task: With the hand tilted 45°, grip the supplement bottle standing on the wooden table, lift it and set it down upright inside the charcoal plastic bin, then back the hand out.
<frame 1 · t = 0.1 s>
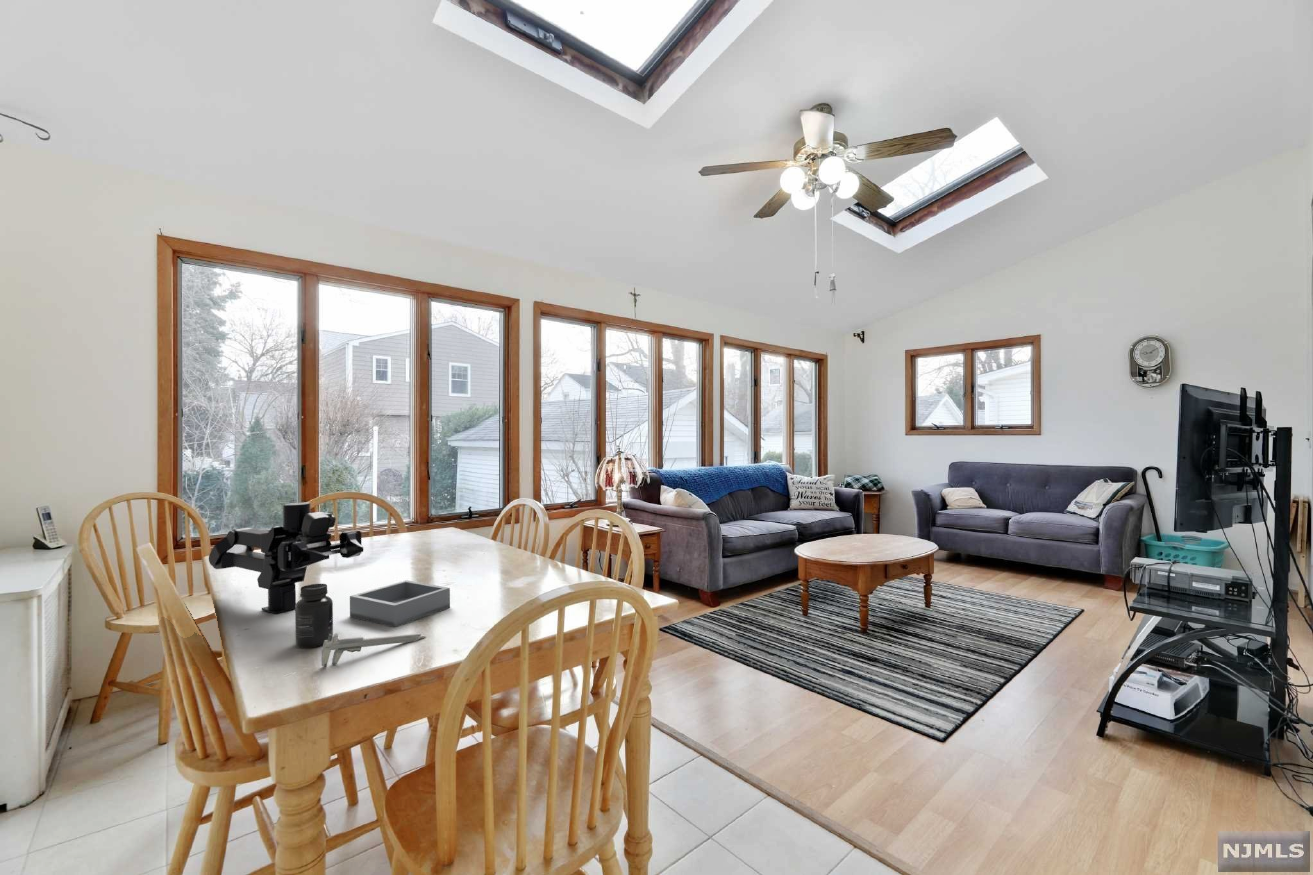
hand: (344, 553, 131), 17 cm above the table, tool horizontal, fingers open, 9 cm apart
caliper: (377, 653, 116), on the table
supplement bottle: (314, 643, 121), on the table
bin: (401, 612, 140), on the table
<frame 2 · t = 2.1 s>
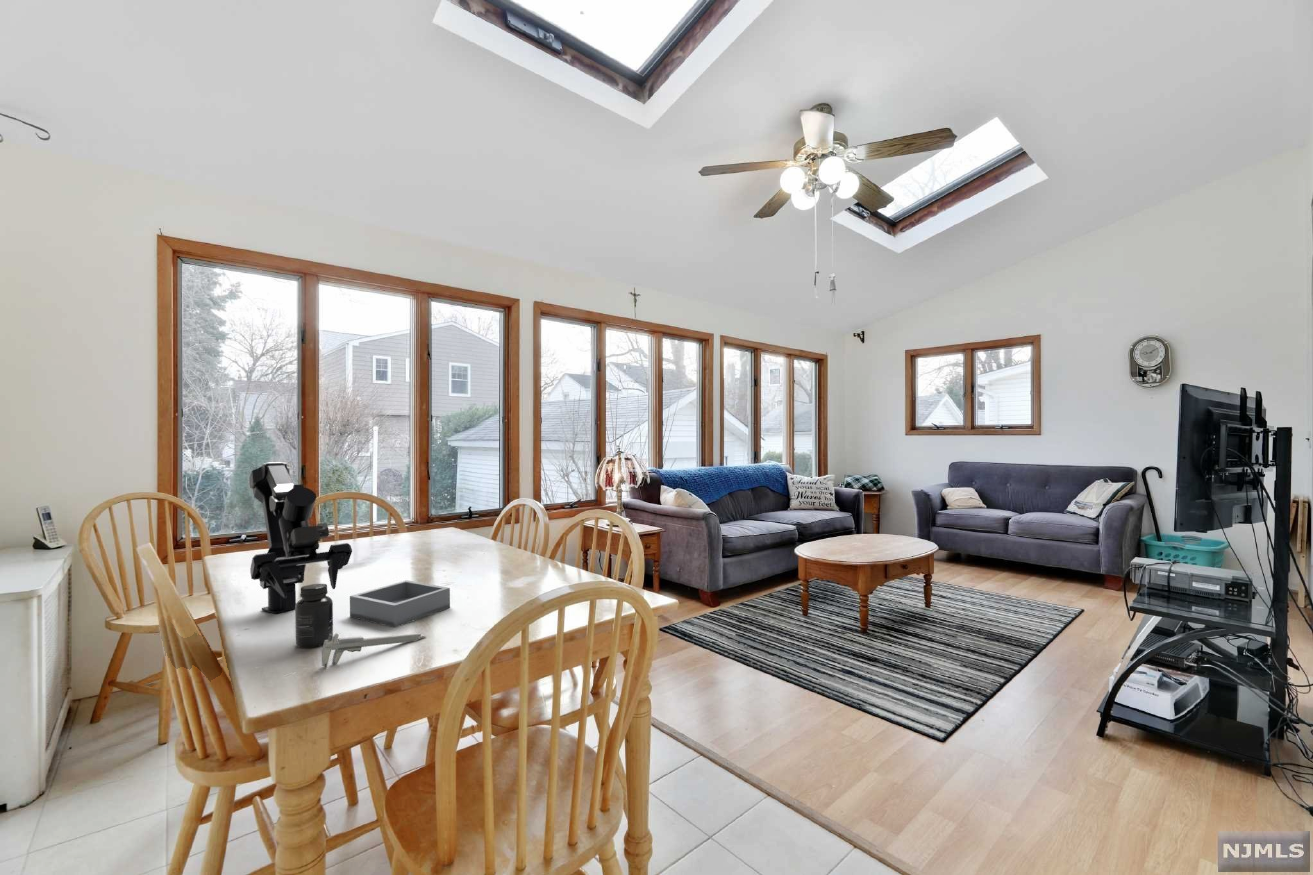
hand: (310, 592, 123), 10 cm above the table, tool tilted 45°, fingers open, 9 cm apart
nothing on the table moved.
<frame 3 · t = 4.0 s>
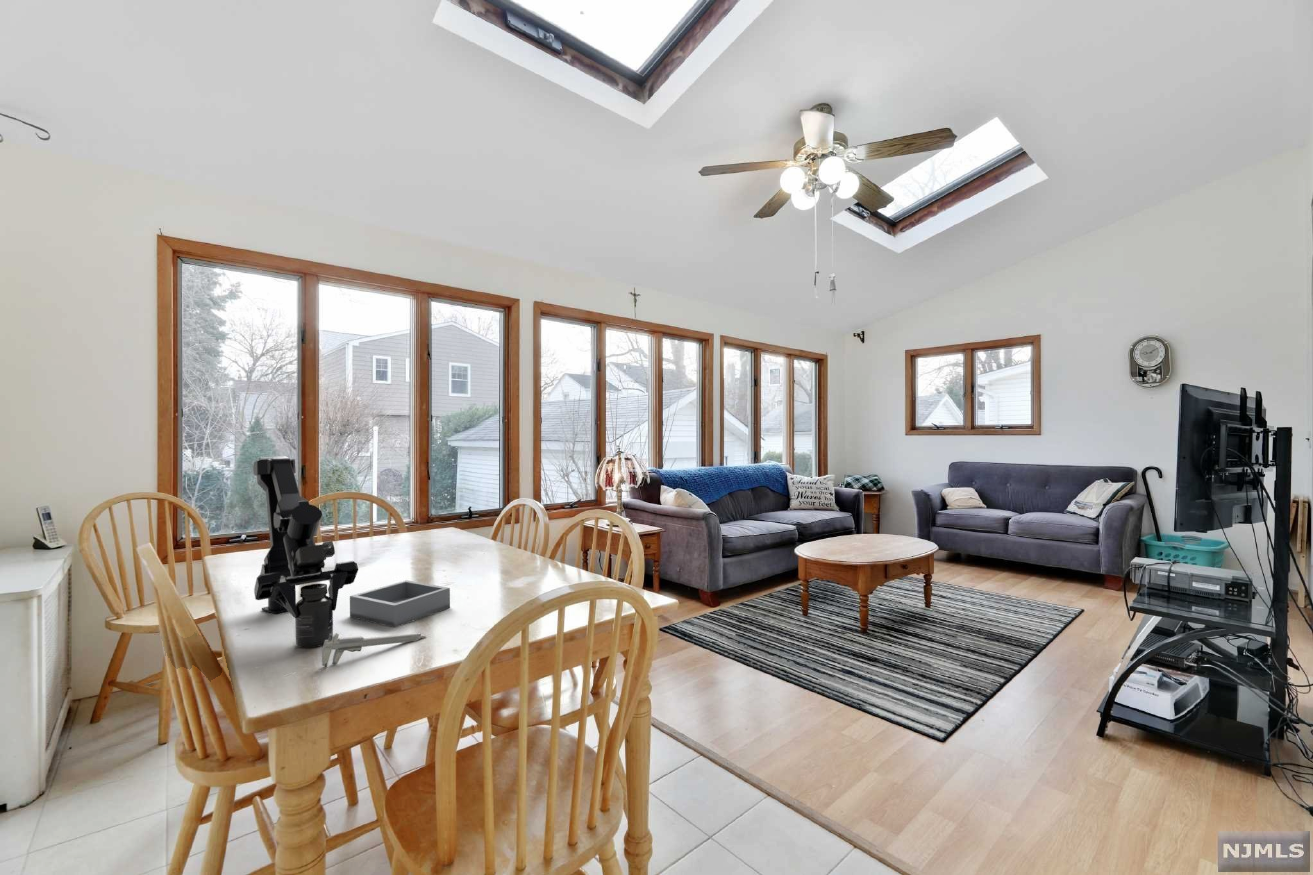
hand: (315, 613, 119), 7 cm above the table, tool tilted 45°, fingers closed on supplement bottle, 7 cm apart
supplement bottle: (314, 643, 121), on the table, touching gripper
everything else where it was.
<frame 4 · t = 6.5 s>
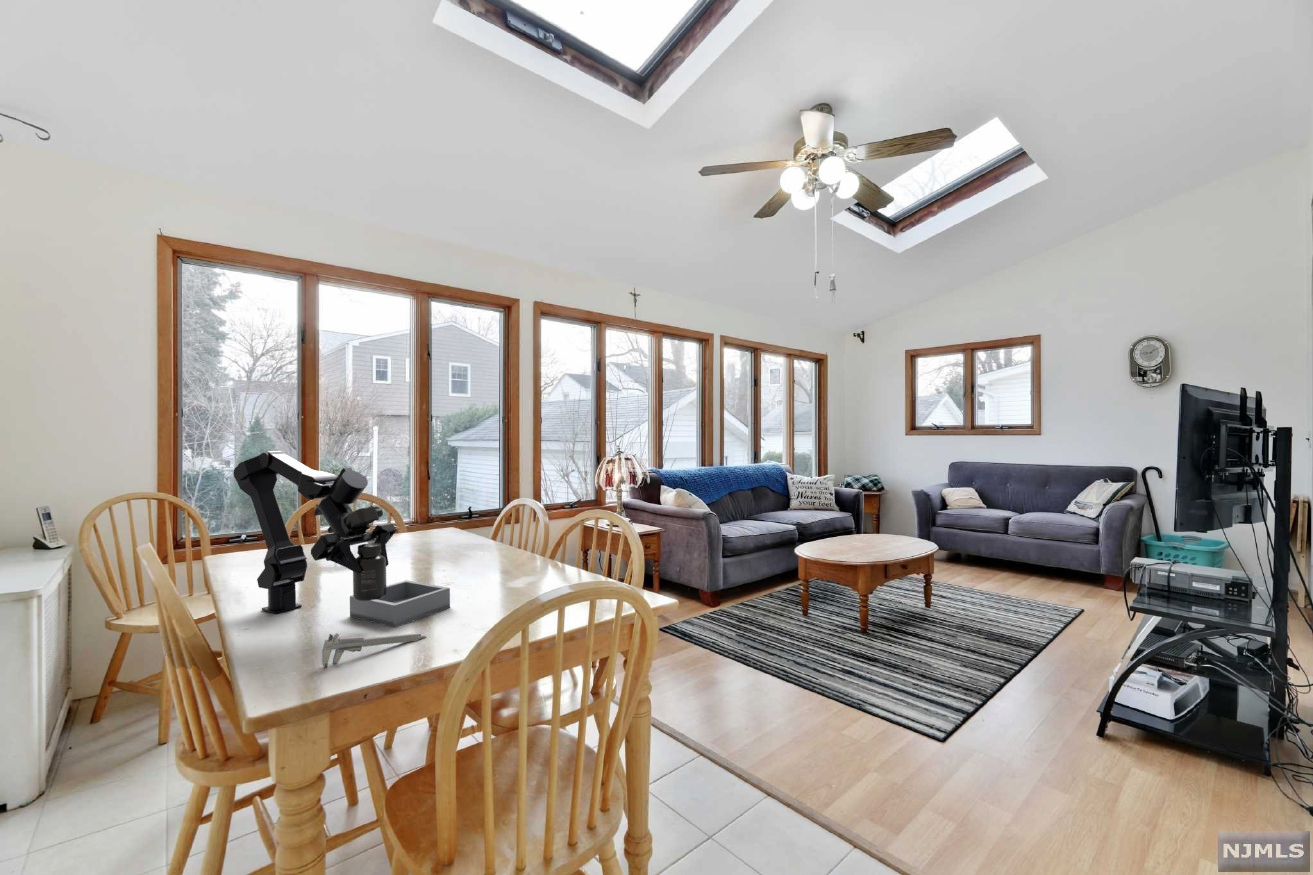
hand: (374, 568, 130), 13 cm above the table, tool tilted 45°, fingers closed on supplement bottle, 7 cm apart
supplement bottle: (369, 597, 130), point 6 cm above the table, touching gripper
everything else where it was.
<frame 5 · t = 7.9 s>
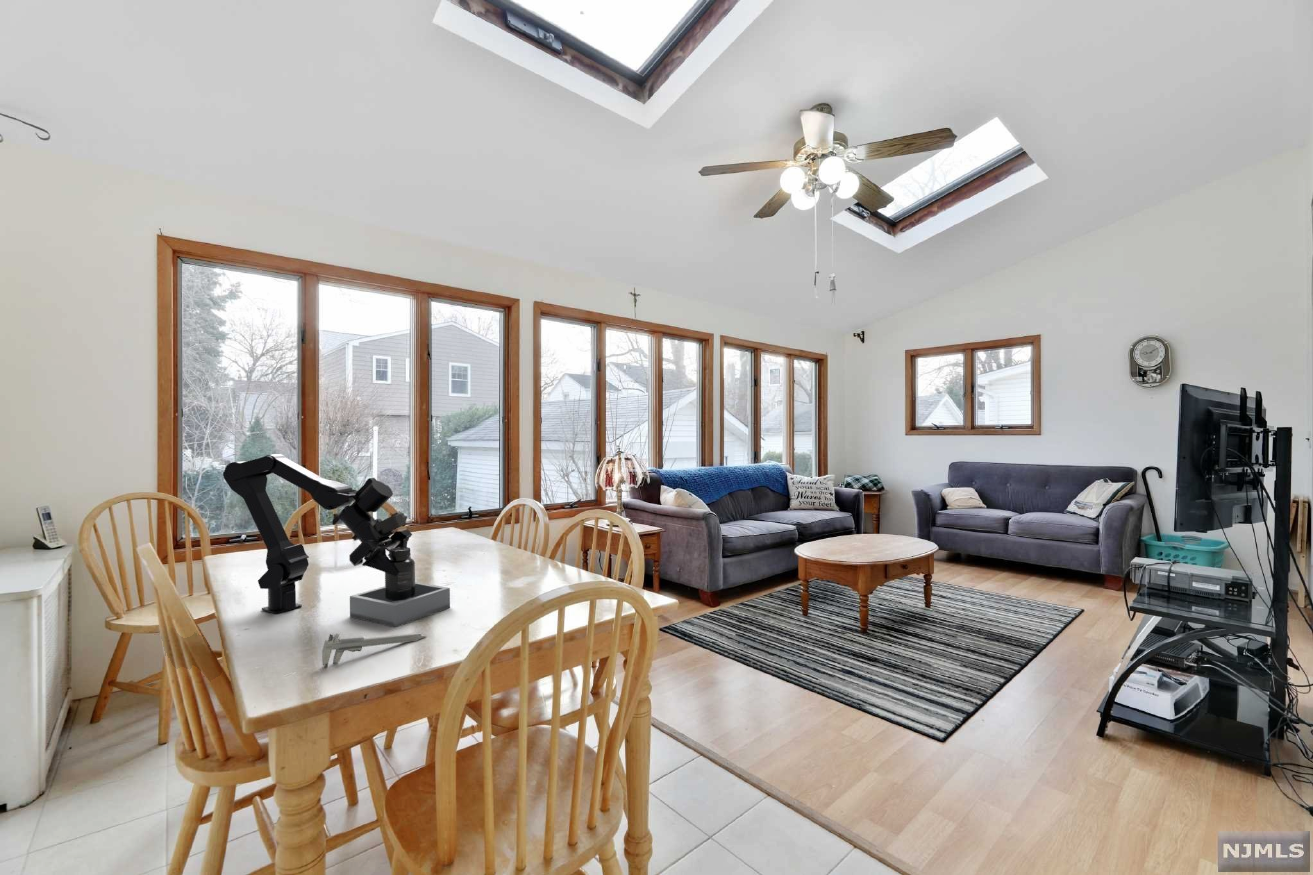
hand: (405, 570, 140), 10 cm above the table, tool tilted 45°, fingers closed on supplement bottle, 7 cm apart
supplement bottle: (400, 598, 140), point 3 cm above the table, touching gripper
everything else where it was.
when the fingers open (9 cm above the table, at t = 9.0 s): supplement bottle drops 1 cm, resting on bin.
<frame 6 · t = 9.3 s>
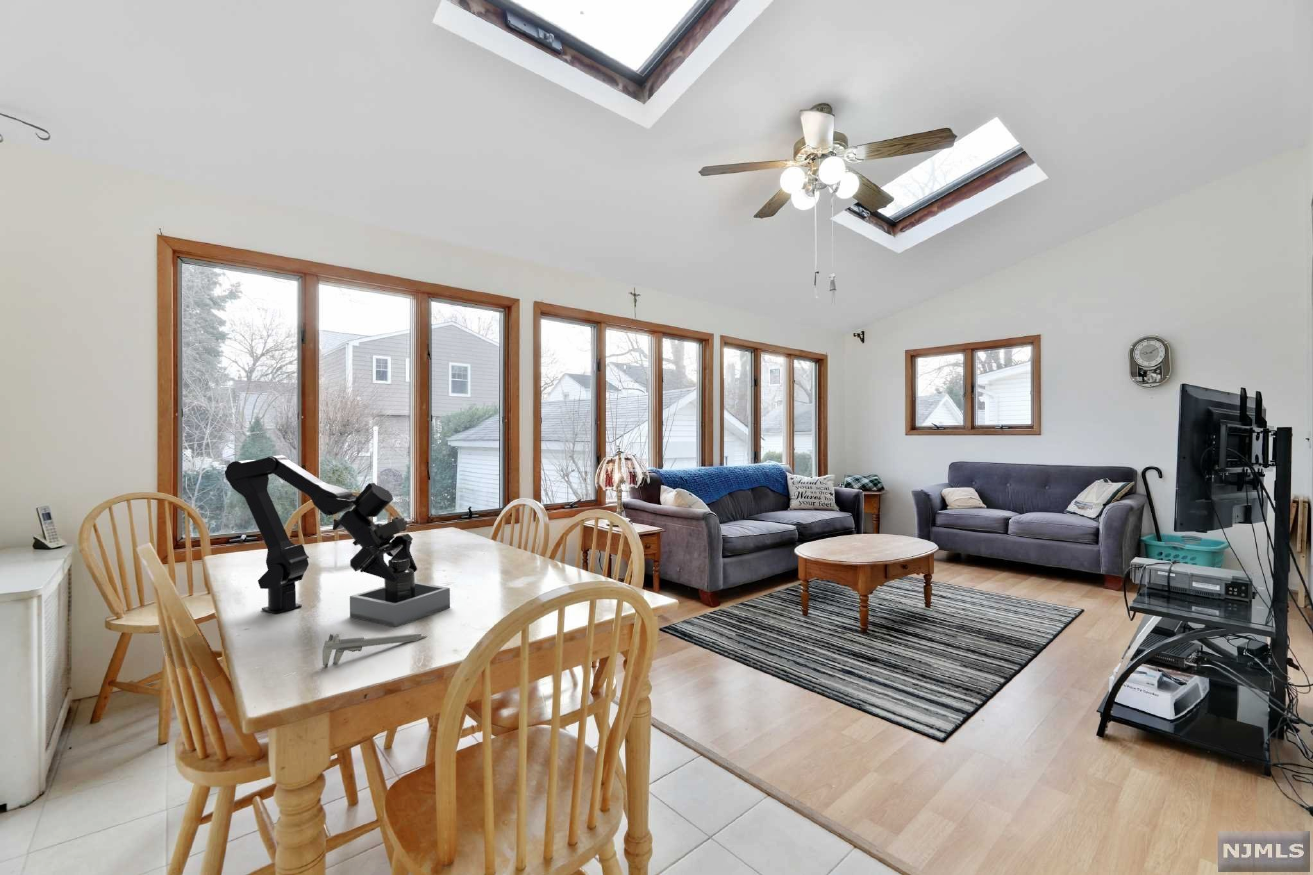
hand: (406, 575, 140), 9 cm above the table, tool tilted 45°, fingers open, 9 cm apart
supplement bottle: (400, 608, 141), point 1 cm above the table, touching bin
everything else where it was.
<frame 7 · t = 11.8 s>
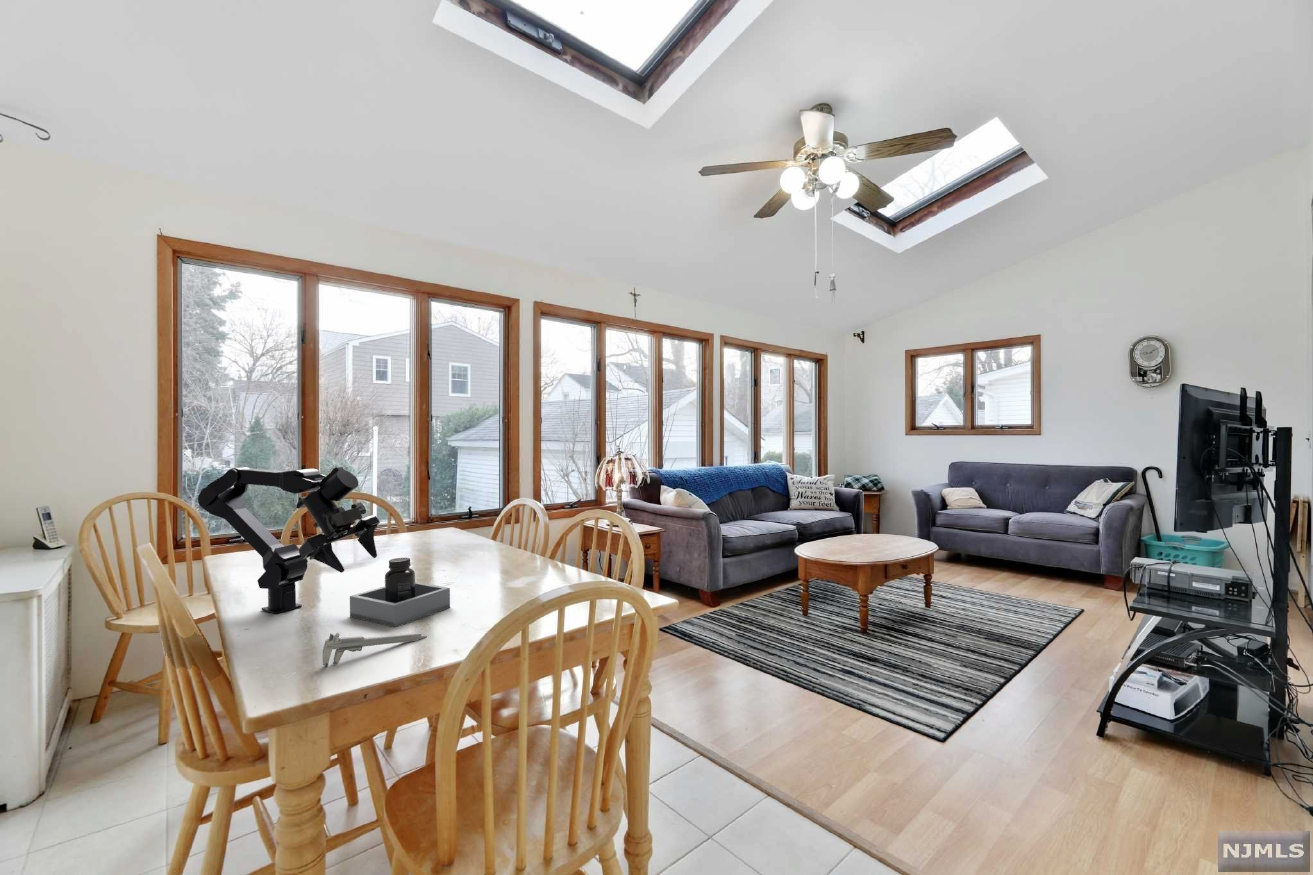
hand: (359, 564, 139), 12 cm above the table, tool tilted 35°, fingers open, 9 cm apart
nothing on the table moved.
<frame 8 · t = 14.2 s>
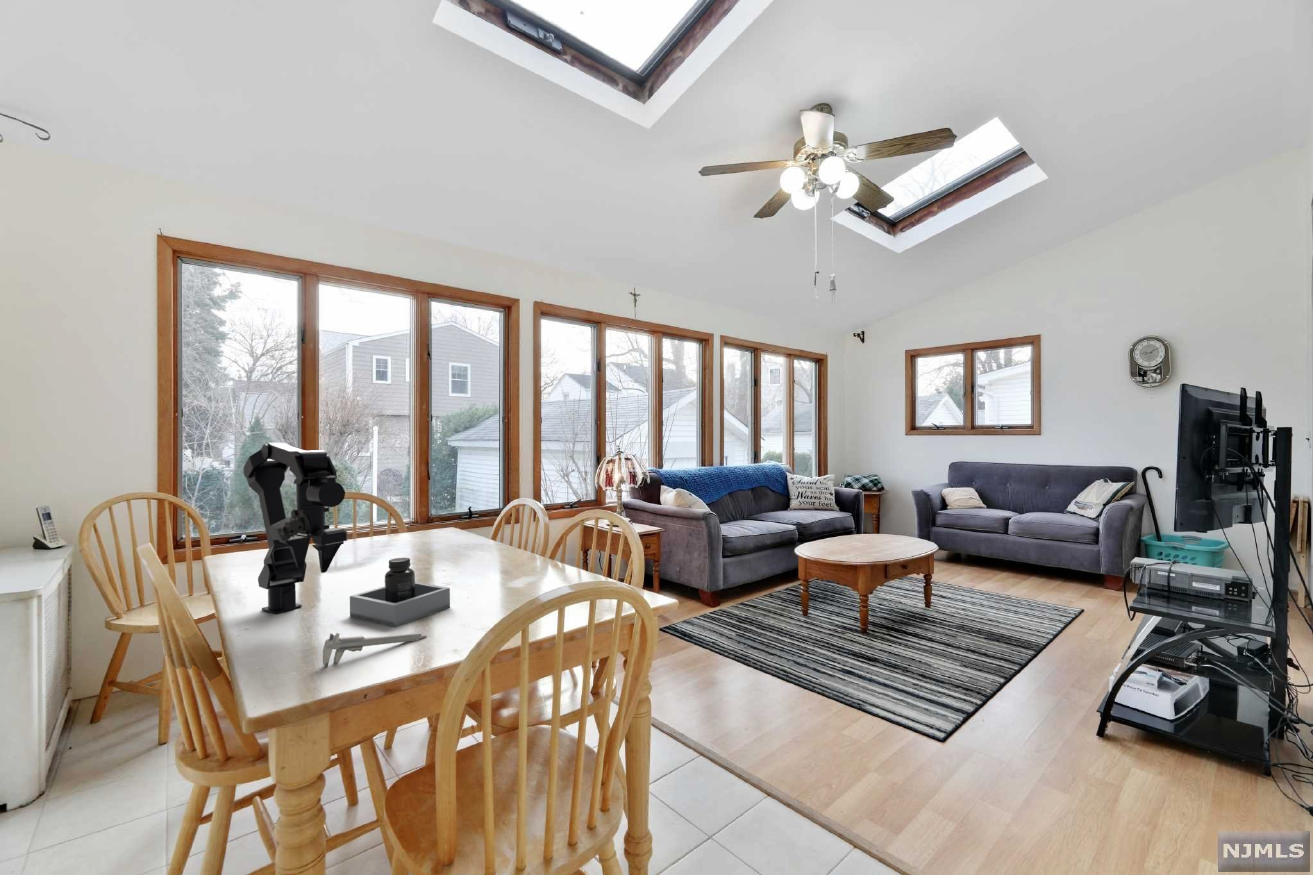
hand: (311, 570, 134), 12 cm above the table, tool pointing down, fingers open, 9 cm apart
nothing on the table moved.
at the end: supplement bottle inside the target area on the bin (0.2 cm from its centre), point 0.8 cm above the bin's base; supplement bottle tilted 0°; the gripper is holding nothing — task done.
